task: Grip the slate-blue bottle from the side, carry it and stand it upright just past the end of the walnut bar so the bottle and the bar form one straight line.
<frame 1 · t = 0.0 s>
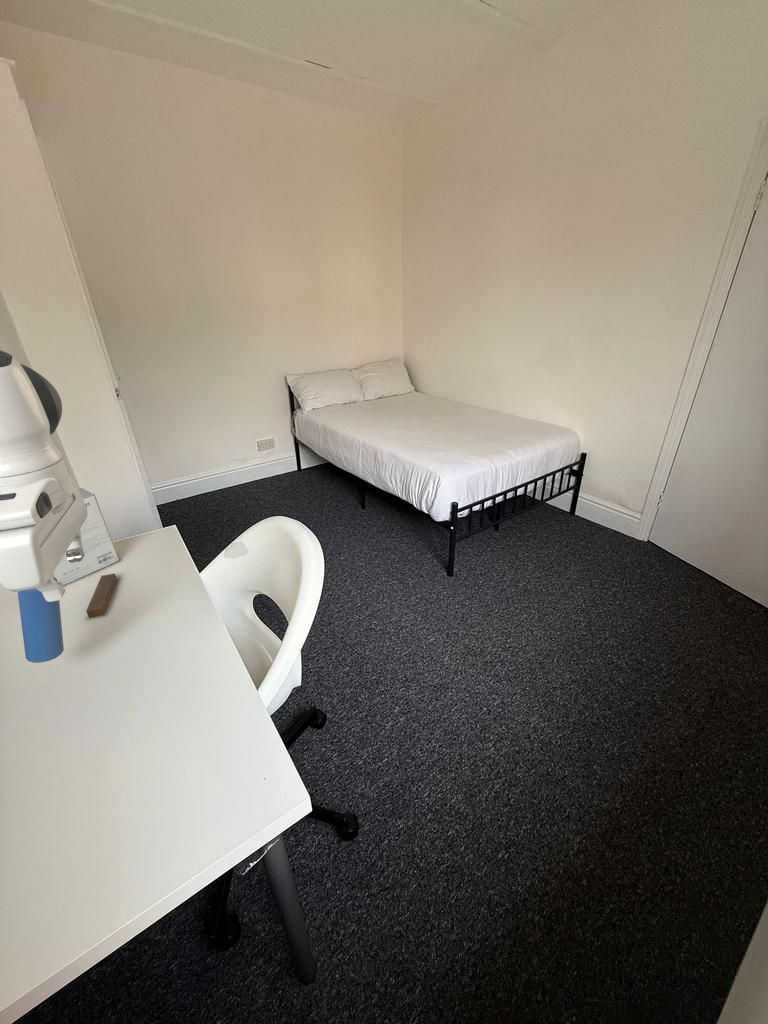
hand: (68, 577, 58), 28 cm above the table, tool pointing down, fingers open, 8 cm apart
walnut bar: (104, 597, 98), on the table
blue bottle: (45, 653, 73), point 7 cm above the table, tilted 13°
hard drive box: (82, 570, 109), on the table
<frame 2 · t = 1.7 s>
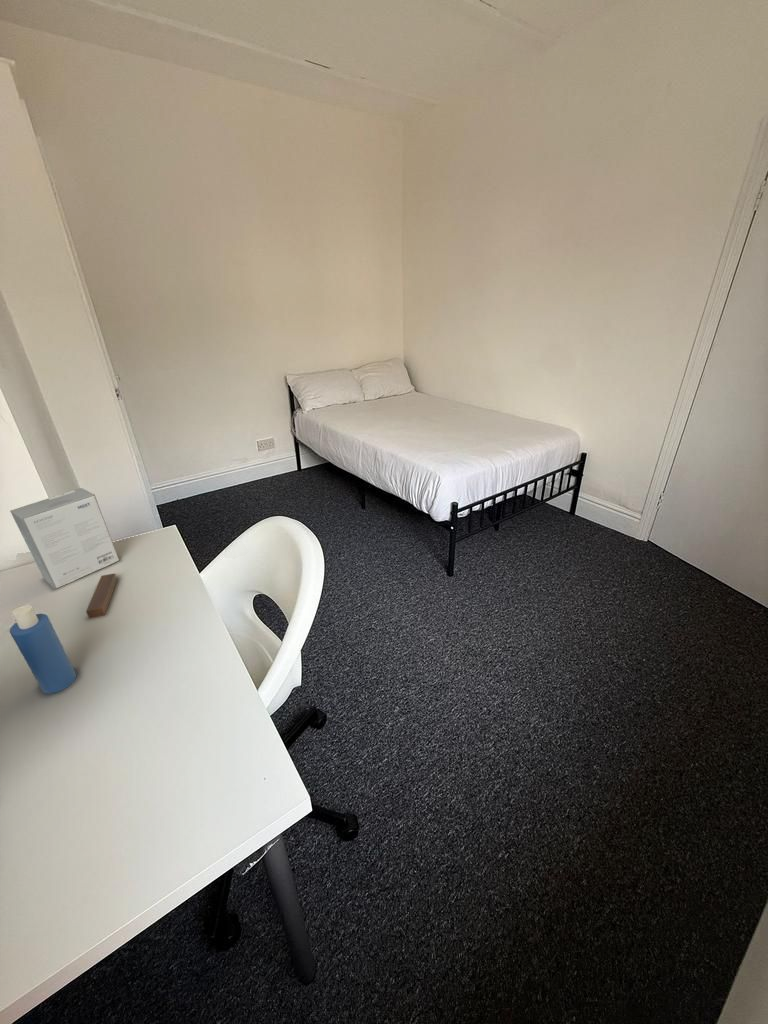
blue bottle: (59, 681, 77), on the table
everything else where it was.
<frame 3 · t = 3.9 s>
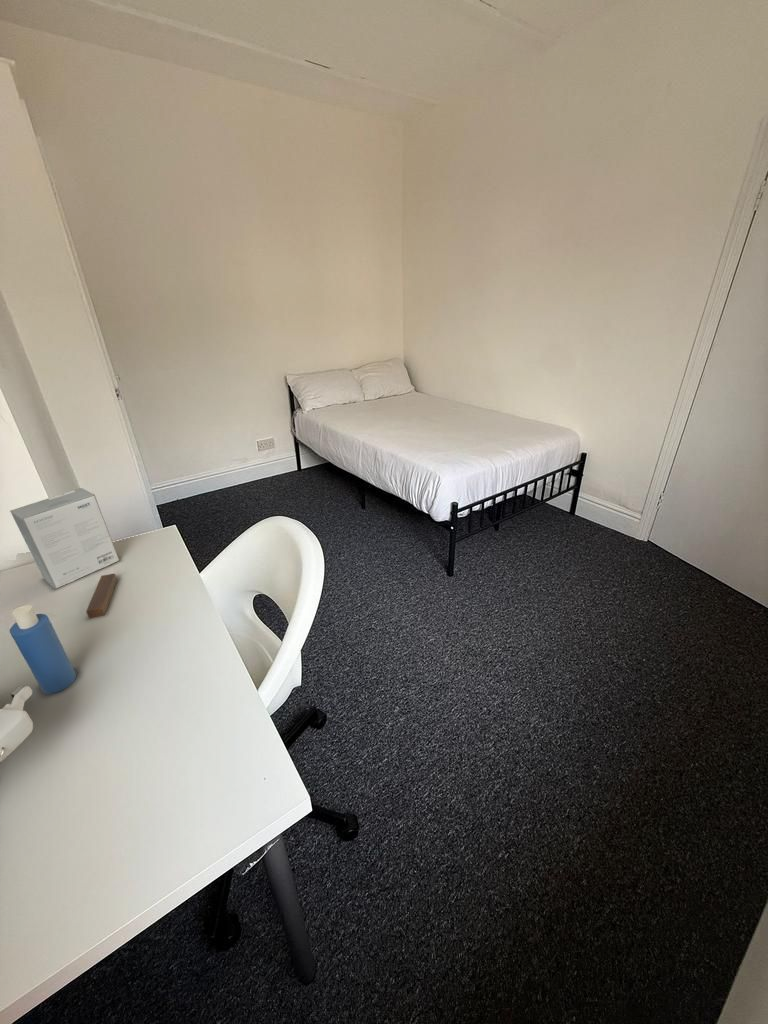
nothing on the table moved.
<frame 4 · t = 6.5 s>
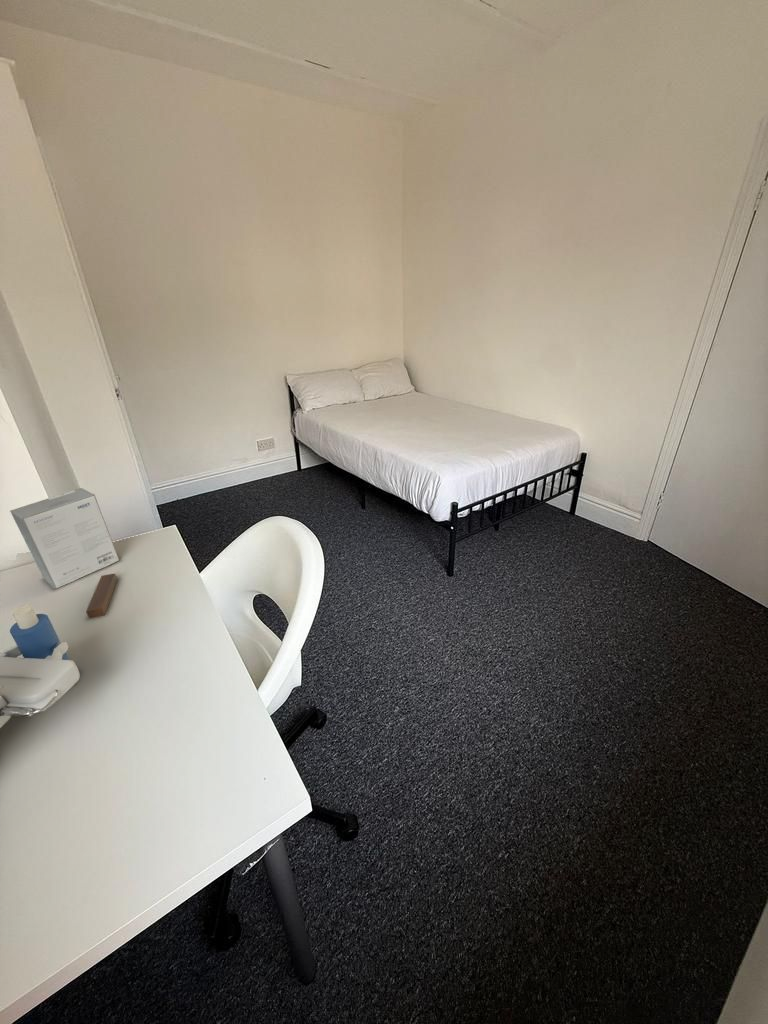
hand: (46, 643, 74), 9 cm above the table, tool horizontal, fingers closed on blue bottle, 5 cm apart
blue bottle: (59, 681, 77), on the table, touching gripper
everything else where it was.
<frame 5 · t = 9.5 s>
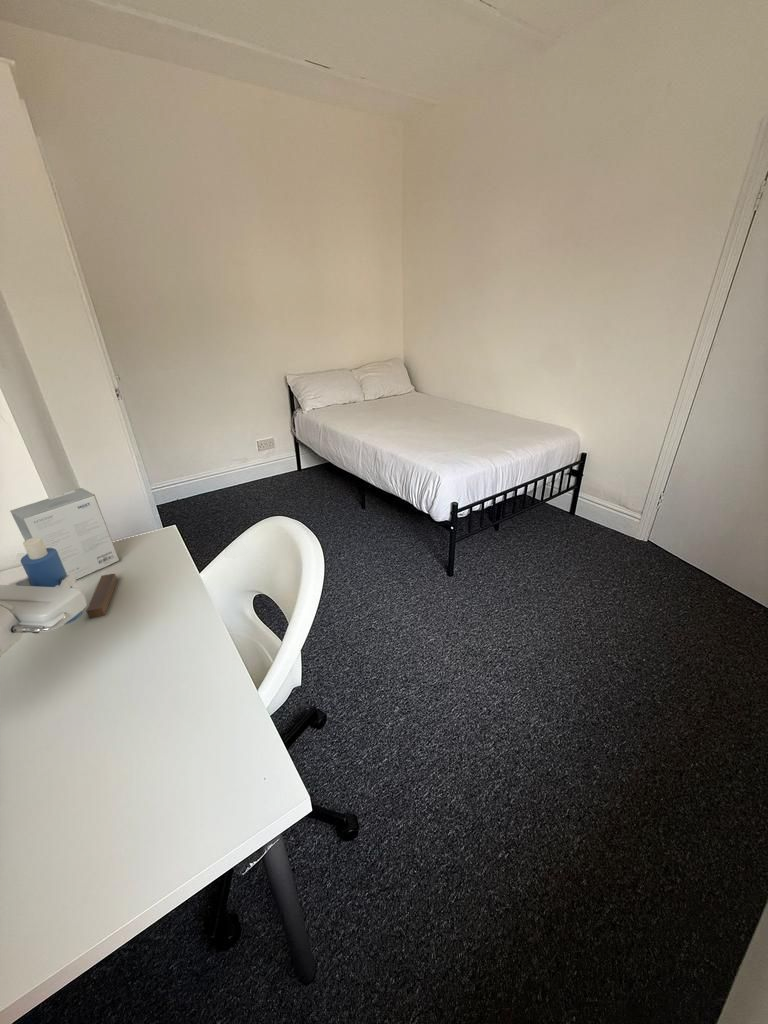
hand: (54, 577, 77), 17 cm above the table, tool horizontal, fingers closed on blue bottle, 5 cm apart
blue bottle: (66, 616, 80), point 8 cm above the table, touching gripper
everything else where it was.
when the fingers open (8 cm above the table, at t = 12.7 s): blue bottle stays where it is, on the table.
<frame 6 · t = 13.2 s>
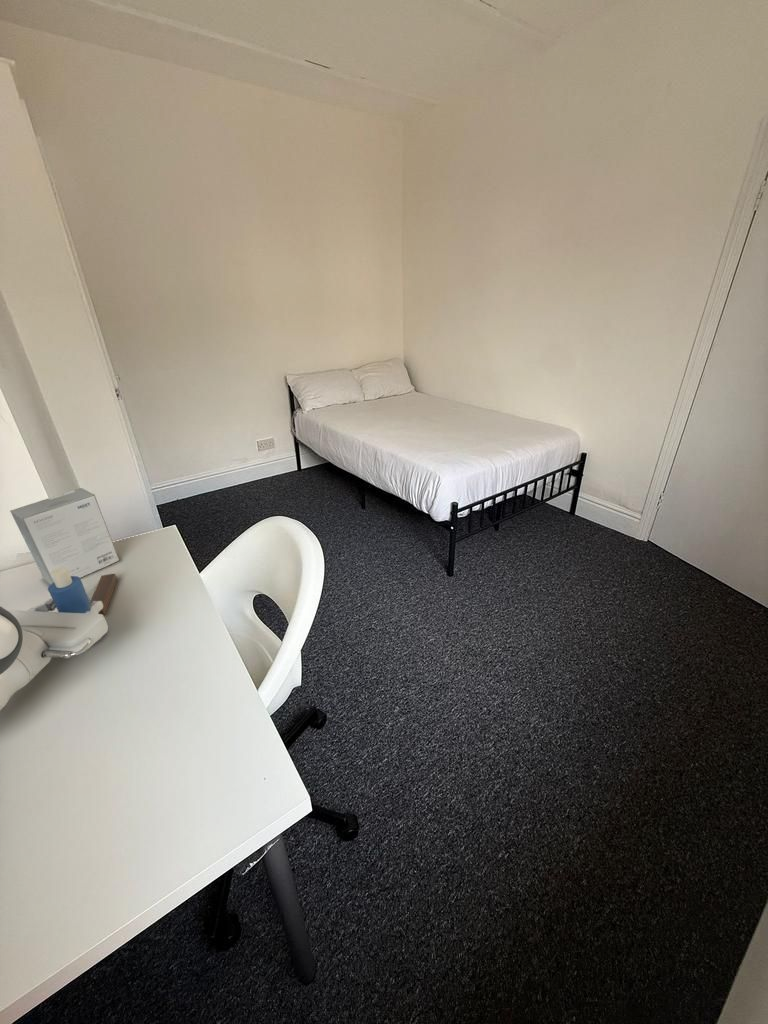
hand: (76, 602, 83), 9 cm above the table, tool horizontal, fingers open, 8 cm apart
blue bottle: (88, 638, 86), on the table
everything else where it was.
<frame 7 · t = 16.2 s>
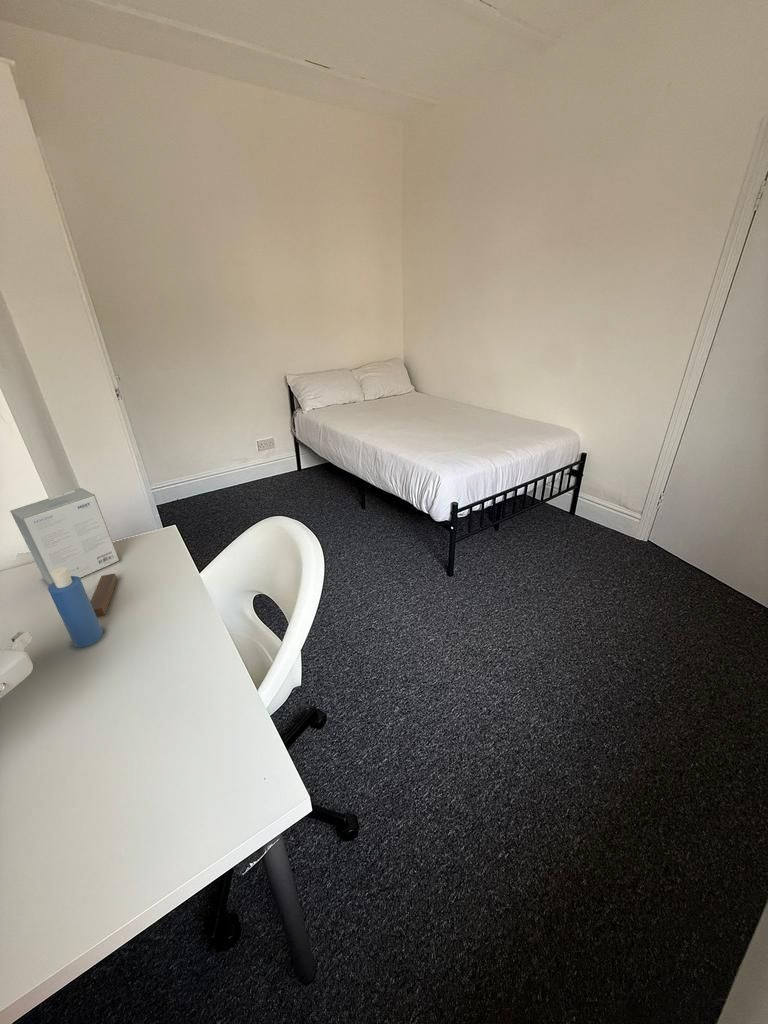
nothing on the table moved.
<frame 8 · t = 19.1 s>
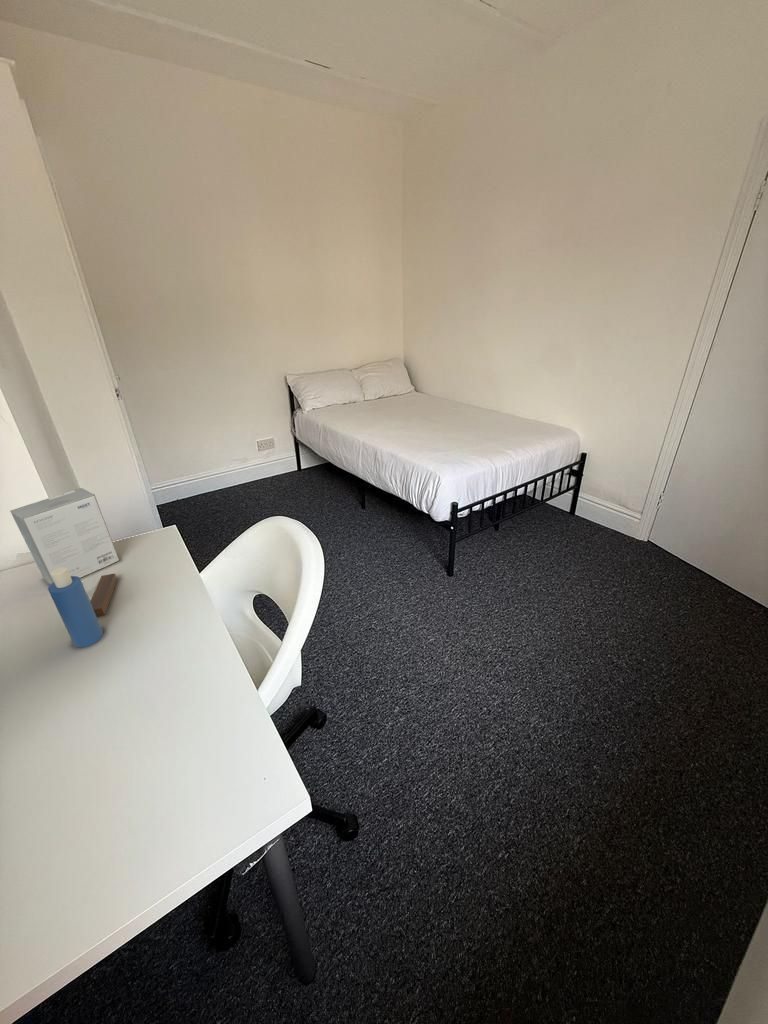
nothing on the table moved.
at the end: blue bottle 0.1 cm from the target spot on the table beside the walnut bar, on the table; blue bottle tilted 0°; the gripper is holding nothing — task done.
